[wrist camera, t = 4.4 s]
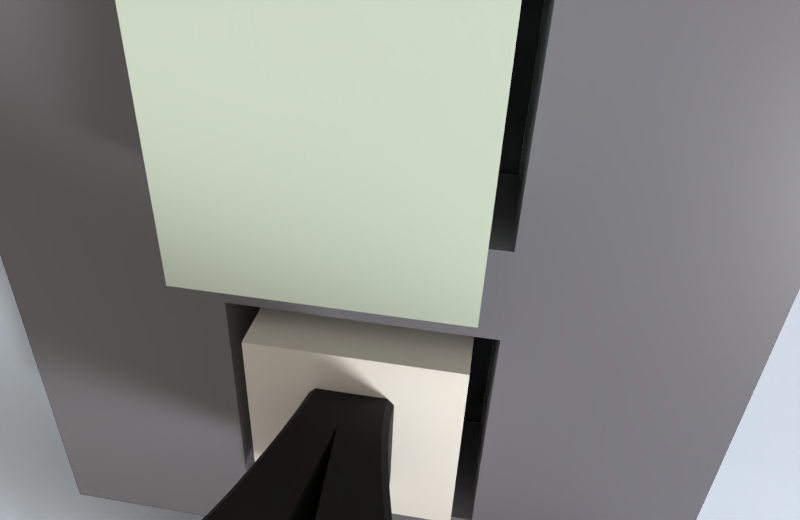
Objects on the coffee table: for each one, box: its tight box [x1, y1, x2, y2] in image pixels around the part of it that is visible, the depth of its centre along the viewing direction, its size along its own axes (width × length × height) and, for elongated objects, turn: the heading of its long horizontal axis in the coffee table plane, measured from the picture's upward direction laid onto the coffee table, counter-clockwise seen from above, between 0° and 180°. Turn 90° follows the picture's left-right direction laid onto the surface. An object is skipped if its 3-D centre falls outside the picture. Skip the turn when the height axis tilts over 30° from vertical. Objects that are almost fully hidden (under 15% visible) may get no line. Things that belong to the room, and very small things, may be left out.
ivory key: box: [242, 308, 474, 520], centre depth 13 cm, size 4×4×3 cm
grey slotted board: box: [0, 0, 800, 520], centre depth 10 cm, size 19×12×2 cm, turn 178°
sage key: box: [115, 0, 522, 328], centre depth 8 cm, size 4×4×3 cm
